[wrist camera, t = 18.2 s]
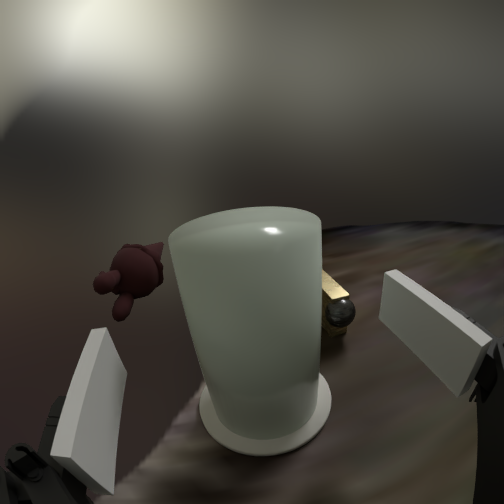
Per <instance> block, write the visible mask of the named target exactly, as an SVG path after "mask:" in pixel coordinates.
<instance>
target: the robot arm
mask: <svg viewBox="0 0 504 504" xmlns="http://www.w3.org/2000/svg"><path fill="white" fill-rule="evenodd" d="M379 319H380V320H381V321H382V322H383V323H384V324H385V325H386V326H387V327H388V328H389V329H390V330H391V331H392V332H393V333H394V334H395V335H396V336H397V337H398V338H399V339H400V340H401V341H402V342H403V343H404V344H405V345H406V346H407V347H408V348H409V349H410V350H412V351H413V352H414V353H415V354H416V355H417V356H418V357H419V358H420V360H421V361H422V362H423V363H424V364H425V365H426V366H427V367H428V368H429V369H430V370H431V371H432V372H433V373H434V374H435V375H436V376H437V377H438V378H439V379H440V380H441V381H442V382H443V383H444V384H445V385H446V386H447V387H448V388H449V389H450V390H451V391H452V392H453V393H454V394H455V396H456V397H457V398H458V397H460V396H461V395H462V394H464V393H465V392H467V391H468V390H469V389H470V387H471V385H472V383H473V381H474V380H475V381H477V382H478V384H477V385H476V387H475V389H474V391H473V393H472V395H471V396H470V399H469V402H471V401H472V399H473V398H474V396H475V395H476V399H475V400H474V402H477V423H478V450H477V470H476V482H475V491H474V498H473V504H504V336H502V337H500V338H497V337H496V336H495V335H493V334H492V333H491V332H489V331H488V330H487V329H485V328H484V327H483V326H481V325H480V324H479V323H477V322H475V320H473V319H472V318H469V316H468V315H467V314H465V313H464V312H463V311H461V310H458V309H456V308H453V307H450V306H448V305H447V304H446V303H444V302H443V301H441V300H440V299H439V298H437V297H436V296H434V295H433V294H431V293H430V292H429V291H427V290H426V289H424V288H423V287H421V286H420V285H419V284H417V283H416V282H414V281H413V280H411V279H410V278H408V277H407V276H405V275H404V274H402V273H401V272H399V271H398V270H392V271H388V272H385V273H384V282H383V291H382V299H381V307H380V314H379ZM126 376H127V372H126V370H125V368H124V366H123V364H122V362H121V360H120V358H119V356H118V353H117V351H116V349H115V346H114V344H113V342H112V339H111V337H110V335H109V332H108V330H107V328H99V329H92V330H91V332H90V335H89V337H88V339H87V342H86V344H85V347H84V349H83V352H82V354H81V357H80V360H79V362H78V365H77V368H76V371H75V373H74V376H73V379H72V382H71V385H70V388H69V391H68V394H67V396H59V397H58V398H57V399H56V401H55V402H54V403H53V405H52V406H51V409H50V412H49V415H48V417H49V418H47V421H46V427H45V428H44V431H43V435H42V438H41V442H40V445H39V449H38V452H36V451H35V450H33V448H32V447H30V446H29V445H27V444H25V443H18V444H15V445H13V446H12V447H11V448H10V449H9V450H8V452H7V454H6V456H5V466H6V467H7V468H8V469H9V470H10V472H6V471H5V470H4V469H3V468H1V466H0V504H94V503H93V502H92V500H91V499H90V498H89V497H88V496H87V495H86V489H87V488H89V489H90V490H91V491H92V492H93V493H95V494H104V495H114V480H115V479H114V478H115V465H116V452H117V442H118V432H119V424H120V416H121V409H122V401H123V395H124V388H125V381H126Z"/></svg>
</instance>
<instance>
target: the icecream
mask: <svg viewBox="0 0 504 504" xmlns="http://www.w3.org/2000/svg"><path fill="white" fill-rule="evenodd" d="M163 245H164V244H163V243H162V242H159V243H155V244H151V245H146V246H142V245H139V244H134V245H130V244H125V245H124V246H123V247H122V248H121V250H119V251H118V252H117V254H116V255H115V257H114V258H113V261H112V264H111V267H110V271H109V272H107V273H105V272H103V271H101V272H100V273H99V276H97V277H96V278H95V280H94V283H93V287H94V290H95V292H97V293H99V294H100V295H103V294H107V293H109V292H113V293H114V294H115V295H118V294H119V295H120V296H119V297H118V298H117V300H116V301H115V303H114V306H113V310H112V315H113V318H114V320H116V321H118V322H119V321H123V320H125V318H126V317H127V316H128V315H129V314H130V311H131V308H132V305H133V302H134V299H137V298H141V297H145V296H148V295H149V294H150V293H151V292H152V291H153V290H154V289H155V288H156V287H158V286H159V285H161V284H162V283H163V265H162V263H161V262H160V260H161V255H162V250H163Z"/></svg>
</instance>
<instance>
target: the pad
mask: <svg viewBox="0 0 504 504" xmlns="http://www.w3.org/2000/svg"><path fill="white" fill-rule="evenodd" d="M330 408H331V392H330V389H329V386H328V384H327V382H326V380H325V379H324V377H323V376H322V375H321V374H320V373H319V384H318V398H317V405H316V409H315V411H314V413H313V415H312V416H311V418H310V419H309V420H308V422H307V423H306V424H305V425H303V426H302V427H301V428H300V429H298V430H296V431H295V432H293V433H291V434H289V435H286V436H283V437H280V438H276V439H269V440H256V439H249V438H245V437H242V436H239V435H237V434H235V433H233V432H231V431H230V430H229V429H227V428H226V427H225V426H224V425H223V424H222V423H221V422H220V420H219V419H218V417H217V415H216V412H215V409H214V406H213V403H212V400H211V397H210V394H209V391H208V388H207V385H206V386H205V388H204V390H203V392H202V394H201V398H200V404H199V409H200V415H201V419H202V421H203V424H204V426H205V428H206V430H207V431H208V433H209V434H210V435H211V436H212V437H213V439H214V440H216V441H217V442H218V443H219V444H221V445H222V446H224V447H226V448H227V449H230V450H232V451H234V452H237V453H241V454H244V455H250V456H274V455H279V454H284V453H287V452H290V451H293V450H295V449H297V448H299V447H301V446H303V445H304V444H306V443H307V442H309V441H310V440H311V439H313V438H314V437H315V436H316V435H317V434H318V433H319V432H320V431H321V429H322V428H323V426H324V425H325V423H326V421H327V419H328V416H329V413H330Z"/></svg>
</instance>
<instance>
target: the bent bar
mask: <svg viewBox="0 0 504 504" xmlns="http://www.w3.org/2000/svg"><path fill="white" fill-rule="evenodd" d="M349 296H350V295H349V294H348V293H347V292H346V291H345V290H344V289H343V288H342V287H341V286H340V285H339V284H337V283H336V282H335V281H334V280H333V279H332V278H331V277H330V276H329V275H328V274H327V273H326V272H324V271H323V270H322V318H321V325H322V327H323V328H324V329H325V331H326V332H327V333H328V335H329V336H330V337H333V336H337V335H340V334H343V333H346V332H347V326H348V325H349V324H350V323H351V322H352V321H353V320H354V317H355V312H356V311H355V306H354V304H353V303H352V302H351V301H350V300H349Z"/></svg>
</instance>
